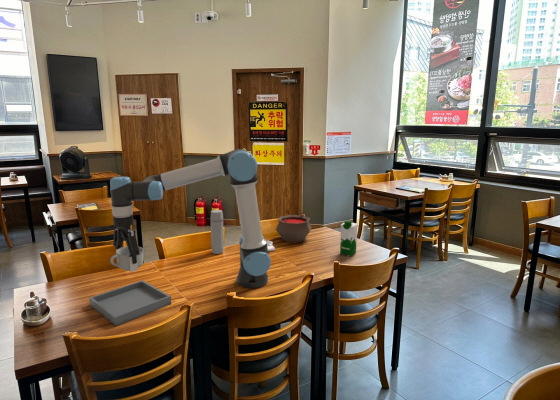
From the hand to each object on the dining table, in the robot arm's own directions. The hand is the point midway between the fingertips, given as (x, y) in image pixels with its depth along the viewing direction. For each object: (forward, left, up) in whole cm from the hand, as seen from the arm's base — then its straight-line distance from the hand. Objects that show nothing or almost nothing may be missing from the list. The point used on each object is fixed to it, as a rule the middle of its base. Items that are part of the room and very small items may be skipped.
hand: (127, 266), depth 156 cm
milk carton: (-34, -116, -17) cm, 122 cm away
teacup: (0, 0, -1) cm, 1 cm away
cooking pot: (+7, -115, -17) cm, 116 cm away
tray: (0, 0, -17) cm, 17 cm away
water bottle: (+24, -66, -17) cm, 72 cm away
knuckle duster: (+9, -86, -18) cm, 88 cm away
